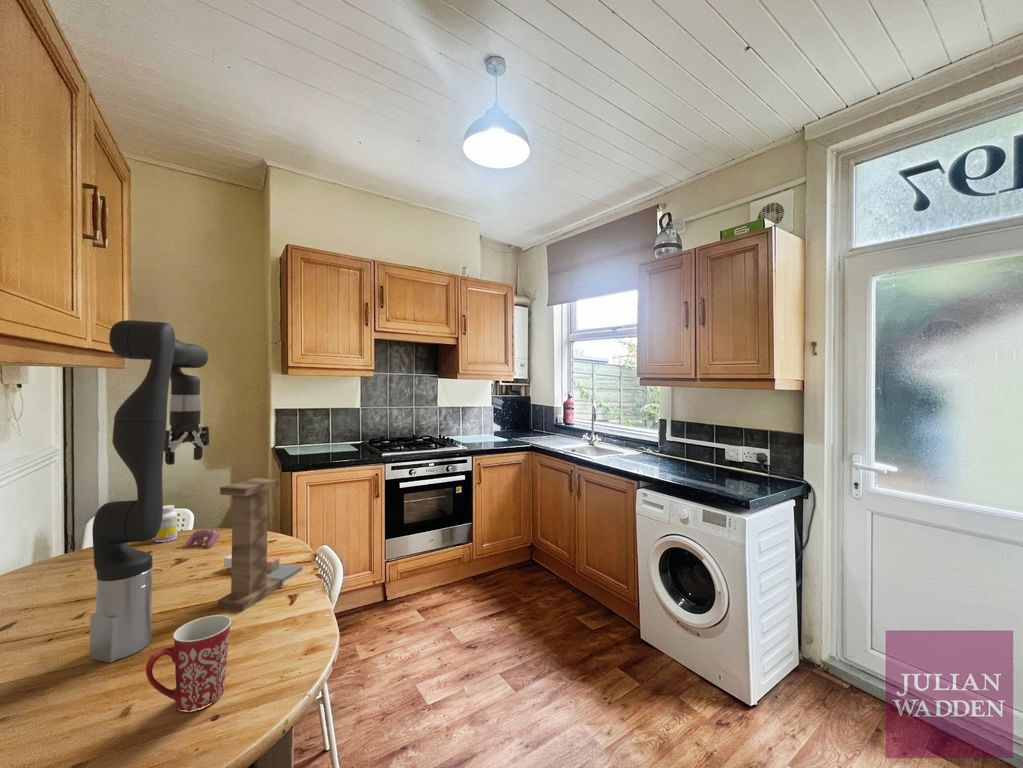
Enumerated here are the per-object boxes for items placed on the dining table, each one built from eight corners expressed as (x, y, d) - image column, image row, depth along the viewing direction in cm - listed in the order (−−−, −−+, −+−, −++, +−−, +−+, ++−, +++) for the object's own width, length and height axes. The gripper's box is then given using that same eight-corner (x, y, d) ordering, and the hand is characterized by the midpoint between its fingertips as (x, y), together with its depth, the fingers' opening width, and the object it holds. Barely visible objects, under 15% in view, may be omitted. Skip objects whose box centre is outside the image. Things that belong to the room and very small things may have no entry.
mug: (224, 674, 85) (225, 609, 85) (235, 698, 79) (236, 627, 79) (142, 708, 76) (144, 635, 76) (147, 738, 70) (149, 657, 70)
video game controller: (217, 549, 154) (223, 529, 157) (208, 548, 150) (215, 527, 153) (192, 548, 155) (199, 528, 158) (183, 547, 151) (190, 527, 154)
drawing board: (281, 582, 125) (281, 579, 125) (237, 577, 128) (237, 573, 128) (302, 569, 134) (302, 566, 134) (260, 564, 137) (260, 561, 137)
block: (271, 572, 129) (271, 562, 129) (223, 567, 133) (223, 557, 133) (279, 568, 132) (279, 558, 132) (232, 563, 136) (232, 553, 136)
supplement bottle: (158, 538, 160) (158, 505, 160) (179, 535, 163) (179, 503, 163) (151, 544, 154) (152, 509, 154) (173, 541, 157) (174, 507, 157)
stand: (243, 610, 109) (245, 490, 109) (214, 606, 111) (216, 488, 111) (282, 586, 123) (284, 478, 123) (256, 583, 125) (258, 477, 125)
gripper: (171, 411, 119) (170, 466, 119) (216, 408, 133) (215, 458, 133) (151, 410, 121) (150, 465, 121) (197, 408, 135) (196, 457, 135)
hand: (184, 462), depth 127 cm, fingers open, 8 cm apart
